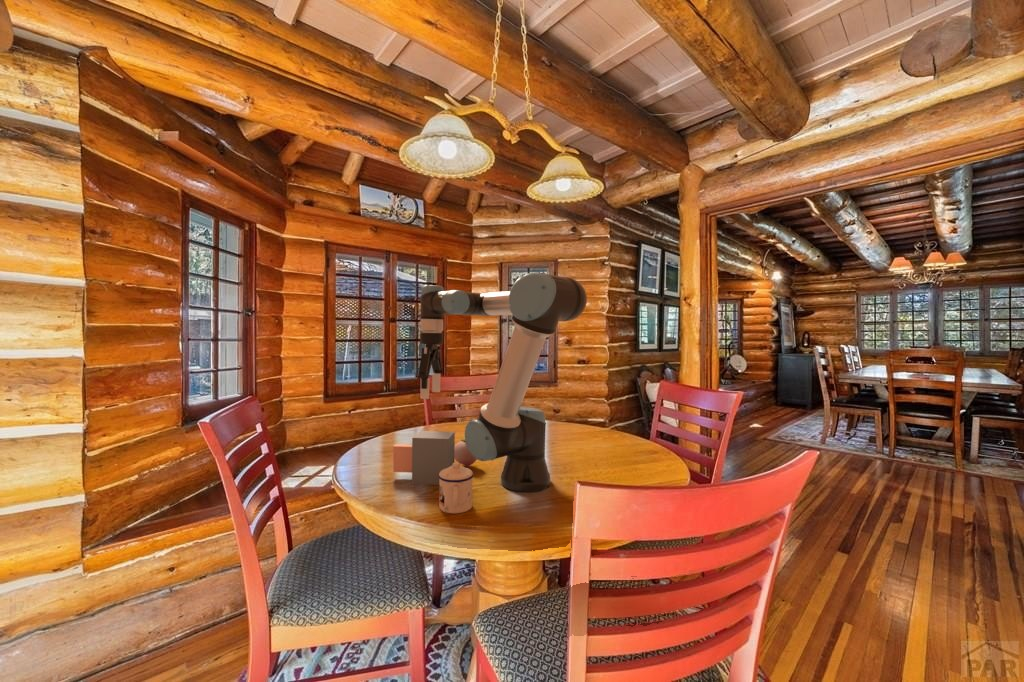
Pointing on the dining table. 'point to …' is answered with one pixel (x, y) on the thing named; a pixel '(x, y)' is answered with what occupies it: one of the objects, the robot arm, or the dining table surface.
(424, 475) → the gray rectangular block
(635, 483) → the dining table surface
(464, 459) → the decorative fruit
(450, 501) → the teacup with lid
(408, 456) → the orange rectangular block
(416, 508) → the dining table surface
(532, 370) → the robot arm
